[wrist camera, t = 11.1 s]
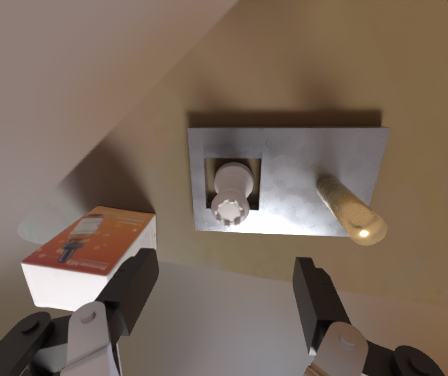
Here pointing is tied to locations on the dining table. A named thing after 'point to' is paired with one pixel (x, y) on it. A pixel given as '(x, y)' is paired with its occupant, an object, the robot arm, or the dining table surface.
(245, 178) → the rook chess piece
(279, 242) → the dining table surface
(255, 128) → the bolt plate
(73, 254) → the small box
